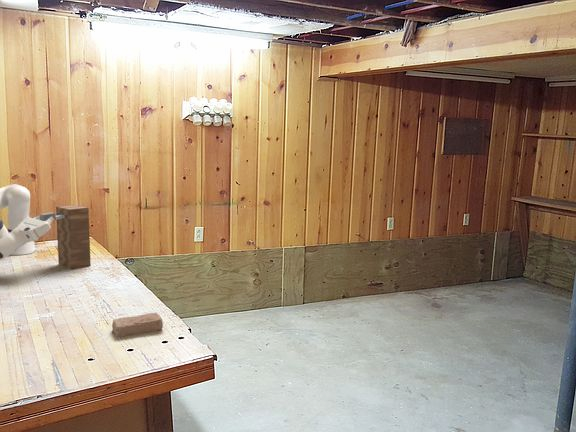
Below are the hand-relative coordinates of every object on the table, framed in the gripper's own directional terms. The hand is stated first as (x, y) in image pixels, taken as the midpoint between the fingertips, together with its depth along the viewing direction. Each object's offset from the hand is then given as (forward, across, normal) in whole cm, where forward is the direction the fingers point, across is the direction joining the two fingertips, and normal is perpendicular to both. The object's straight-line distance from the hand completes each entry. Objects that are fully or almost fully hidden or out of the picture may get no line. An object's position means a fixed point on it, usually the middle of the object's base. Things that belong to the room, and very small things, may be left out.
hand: (47, 216), depth 258 cm
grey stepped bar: (+4, 0, -4) cm, 5 cm away
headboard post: (-2, 0, -30) cm, 30 cm away
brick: (-31, +100, -15) cm, 105 cm away
